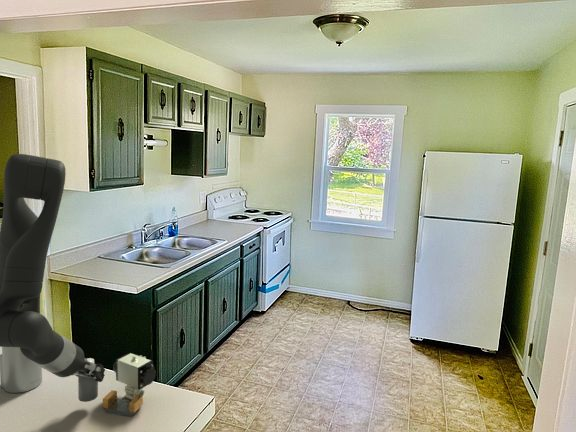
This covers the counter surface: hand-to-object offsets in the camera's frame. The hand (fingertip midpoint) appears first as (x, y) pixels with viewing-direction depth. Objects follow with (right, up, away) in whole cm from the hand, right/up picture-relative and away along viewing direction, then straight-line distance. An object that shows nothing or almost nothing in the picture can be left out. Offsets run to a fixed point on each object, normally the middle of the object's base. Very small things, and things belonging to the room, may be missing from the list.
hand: (92, 376), depth 109 cm
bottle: (-1, -5, -1) cm, 5 cm away
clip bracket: (+8, -9, 0) cm, 12 cm away
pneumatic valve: (+9, -8, +6) cm, 13 cm away
